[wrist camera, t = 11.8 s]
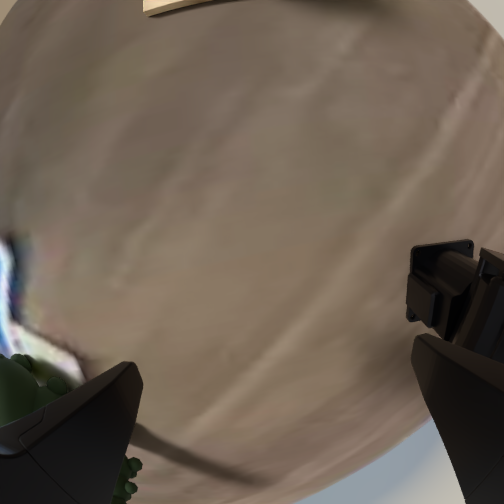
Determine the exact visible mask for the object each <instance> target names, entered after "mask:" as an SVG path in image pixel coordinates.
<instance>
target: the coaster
mask: <svg viewBox="0 0 504 504" xmlns="http://www.w3.org/2000/svg"><path fill="white" fill-rule="evenodd" d="M207 1H213V0H143V12H144V13H145V14H146V15H147V16H148V17H149V16H152V15H155V14H158V13H162V12H165V11H169V10H173V9H176V8H180V7H184V6H189V5H193V4H198V3H202V2H207Z"/></svg>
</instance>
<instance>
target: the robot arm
mask: <svg viewBox="0 0 504 504" xmlns="http://www.w3.org/2000/svg"><path fill="white" fill-rule="evenodd" d="M468 244H469V247H468ZM473 248H474V243H473V241H472V240H469V239H465V240H457V241H449V242H442V243H434V244H426V245H418V246H414V247H413V248H412V250H411V258H410V273H409V275H408V283H407V296H406V304H407V312H406V318H407V320H408V321H409V322H416V321H420V320H421V321H422V322H423V323H424V324H425V325H426V326H427V327H428V328H433V329H434V330H435V331H436V332H437V334H438V335H439V336H440V337H441V338H442V339H443V340H442V339H440V338H437V337H435V336H432V335H430V334H427V333H425V334H421V335H417V336H416V337H415V339H414V343H413V349H412V354H411V363H412V366H413V369H414V371H415V374H416V377H417V380H418V383H419V386H420V389H421V392H422V395H423V397H424V400H425V402H426V405H427V407H428V409H429V411H430V413H431V415H432V418H433V420H434V422H435V424H436V427H437V429H438V431H439V434H440V436H441V438H442V441H443V443H444V446H445V448H446V450H447V453H448V455H449V458H450V460H451V463H452V466H453V468H454V471H455V473H456V476H457V479H458V482H459V485H460V487H461V490H462V493H463V496H464V499H465V503H466V504H504V254H502V253H499V252H495V251H492V250H489V249H485V248H482V247H481V250H480V254H479V256H480V259H479V262H478V261H476V260H474V259H473ZM418 250H419V253H418V254H417V255H416V251H418ZM413 314H414V315H413ZM412 315H413V316H412ZM411 316H412V317H411ZM410 317H411V318H410ZM447 341H448V342H447ZM142 390H143V380H142V378H141V375H140V373H139V370H138V368H137V366H136V364H135V363H134V362H128V361H123V362H121V363H119V364H118V365H116V366H114V367H113V368H111V369H109V370H107V371H106V372H104V373H102V374H101V375H99V376H97V377H95V378H94V379H92V380H90V381H88V382H87V383H85V384H83V385H81V386H80V387H78V388H76V389H74V390H73V391H71V392H69V393H67V394H66V395H64V396H62V397H60V398H58V399H57V400H55V401H53V402H51V403H49V404H48V405H46V406H44V407H42V408H40V409H38V410H37V411H35V412H33V413H31V414H29V415H27V416H25V417H23V418H21V419H18V420H16V421H14V422H12V423H9V424H7V425H5V426H2V427H0V504H111V500H112V496H113V493H114V489H115V486H116V483H117V479H118V476H119V473H120V469H121V466H122V463H123V460H124V457H125V453H126V450H127V447H128V444H129V441H130V438H131V435H132V432H133V429H134V425H135V422H136V418H137V413H138V408H139V404H140V399H141V395H142Z"/></svg>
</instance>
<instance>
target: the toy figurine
mask: <svg viewBox="0 0 504 504" xmlns="http://www.w3.org/2000/svg"><path fill="white" fill-rule="evenodd" d="M31 371H32V369H31V366H30V363H29V361H28V359H27V358H26V357H25V356H23V355H21V354H14V355H12V356H11V359H8V358H6V357H5V356H4V355H2V354H0V427H2V426H5V425H7V424H9V423H12V422H14V421H16V420H18V419H21V418H23V417H25V416H27V415H29V414H31V413H33V412H35V411H37V410H38V409H40V408H42V407H44V406H46V405H48V404H49V403H51V402H53V401H55V400H57V399H58V398H60V397H62V396H64V395H66V394H67V387H66V383H65V382H64V381H63V380H62V379H60V378H58V377H52V378H50V379H49V380H48V381H47V386H40V387H39V385H38V383H37V381H36V380H35V378H34V377H33V376H32V375H31ZM142 465H143V464H142V462H141V461H140V459H138V458H135V457H133V458H130V459H128V458H127V457H126V455H125V457H124V460H123V463H122V466H121V469H120V473H119V476H118V479H117V483H116V486H115V489H114V493H113V496H112V500H111V504H126V501H128V500H130V499H131V494H134V493H135V492H137V489H138V487H137V486H136V484H135V483H132V482H129V481H128V479H129V478H134V477H136V476H137V471H139V470H141V469H142Z"/></svg>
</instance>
